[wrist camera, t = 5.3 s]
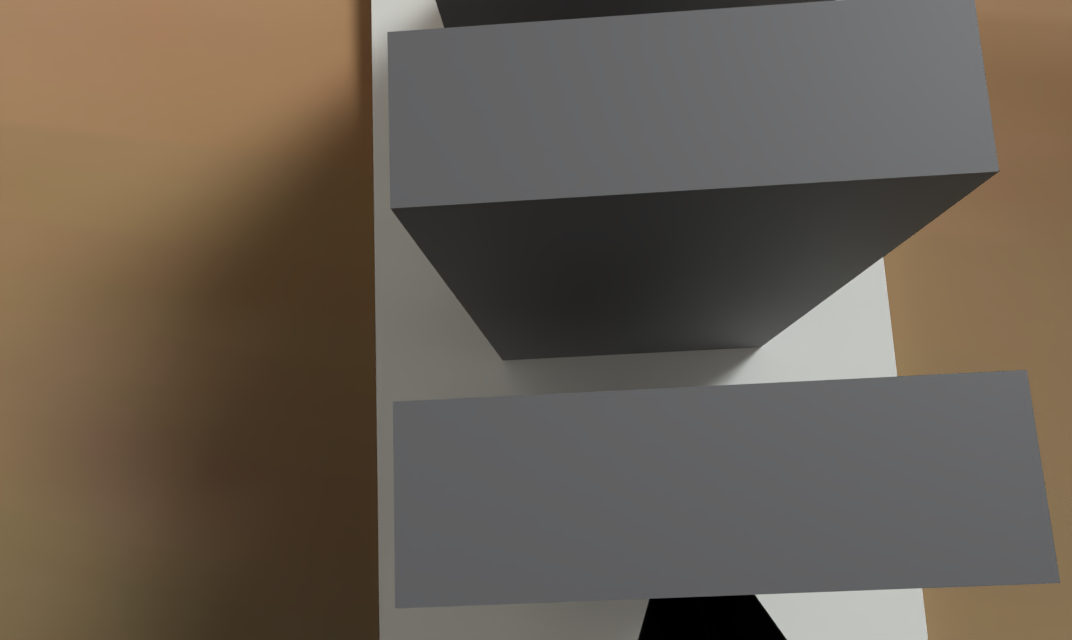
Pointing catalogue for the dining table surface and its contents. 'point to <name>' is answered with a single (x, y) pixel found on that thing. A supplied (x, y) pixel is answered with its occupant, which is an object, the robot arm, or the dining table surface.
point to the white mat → (478, 371)
